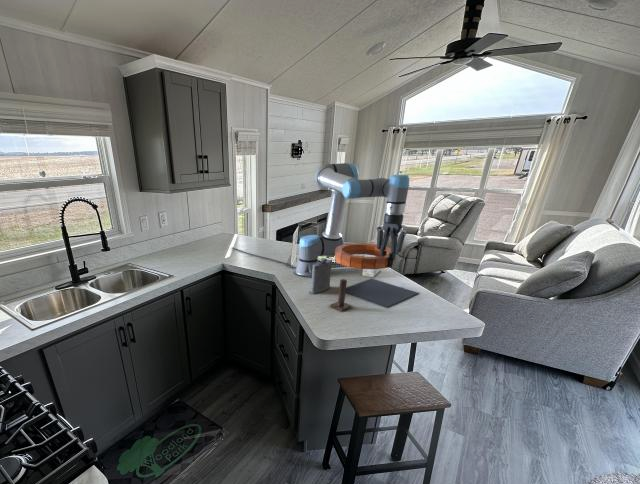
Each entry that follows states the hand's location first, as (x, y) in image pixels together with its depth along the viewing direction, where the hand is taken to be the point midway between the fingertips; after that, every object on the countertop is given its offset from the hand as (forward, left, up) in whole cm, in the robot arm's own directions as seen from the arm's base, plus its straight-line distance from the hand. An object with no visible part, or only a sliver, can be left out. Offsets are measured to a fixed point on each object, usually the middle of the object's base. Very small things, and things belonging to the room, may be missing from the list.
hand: (385, 265), depth 149 cm
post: (-12, -14, -21) cm, 28 cm away
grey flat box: (-33, -5, -22) cm, 40 cm away
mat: (-12, +17, -21) cm, 30 cm away
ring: (-12, 0, 0) cm, 12 cm away
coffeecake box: (-33, +40, -22) cm, 57 cm away
